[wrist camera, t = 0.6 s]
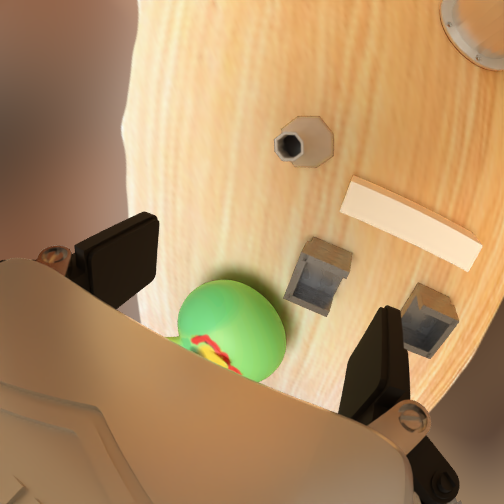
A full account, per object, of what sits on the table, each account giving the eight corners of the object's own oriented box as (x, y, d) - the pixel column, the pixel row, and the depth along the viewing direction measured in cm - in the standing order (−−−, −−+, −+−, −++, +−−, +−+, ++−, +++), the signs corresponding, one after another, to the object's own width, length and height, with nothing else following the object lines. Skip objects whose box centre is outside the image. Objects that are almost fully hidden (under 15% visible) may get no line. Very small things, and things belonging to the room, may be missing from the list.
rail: (353, 174, 36) (351, 181, 32) (471, 231, 33) (482, 245, 28) (342, 201, 38) (339, 211, 34) (459, 256, 35) (468, 272, 30)
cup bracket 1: (310, 235, 42) (301, 252, 37) (352, 253, 40) (349, 272, 35) (293, 277, 45) (283, 298, 40) (332, 294, 44) (326, 317, 39)
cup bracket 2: (418, 282, 38) (423, 305, 33) (451, 298, 37) (459, 321, 32) (394, 320, 42) (395, 345, 37) (426, 334, 41) (430, 359, 36)
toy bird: (314, 330, 48) (291, 396, 36) (245, 360, 57) (213, 415, 44) (245, 246, 46) (197, 294, 34) (185, 292, 55) (137, 338, 43)
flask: (342, 160, 36) (334, 170, 28) (291, 174, 39) (268, 189, 31) (323, 108, 34) (310, 101, 26) (273, 125, 37) (244, 125, 29)
